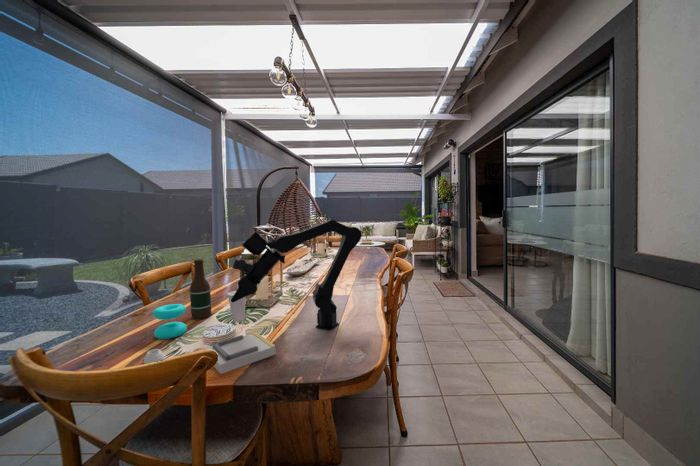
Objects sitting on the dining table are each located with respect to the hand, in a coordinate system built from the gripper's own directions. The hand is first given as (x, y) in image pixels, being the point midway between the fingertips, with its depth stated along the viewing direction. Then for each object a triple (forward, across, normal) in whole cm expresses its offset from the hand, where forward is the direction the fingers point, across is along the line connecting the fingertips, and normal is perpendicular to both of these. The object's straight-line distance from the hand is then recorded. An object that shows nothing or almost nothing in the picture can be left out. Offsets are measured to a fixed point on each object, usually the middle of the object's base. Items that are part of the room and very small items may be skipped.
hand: (233, 298), depth 102 cm
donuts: (+25, -9, -7) cm, 28 cm away
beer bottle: (+21, -26, -2) cm, 34 cm away
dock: (+7, +15, +12) cm, 20 cm away
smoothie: (+5, 0, +6) cm, 8 cm away
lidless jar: (+24, +12, -5) cm, 27 cm away
